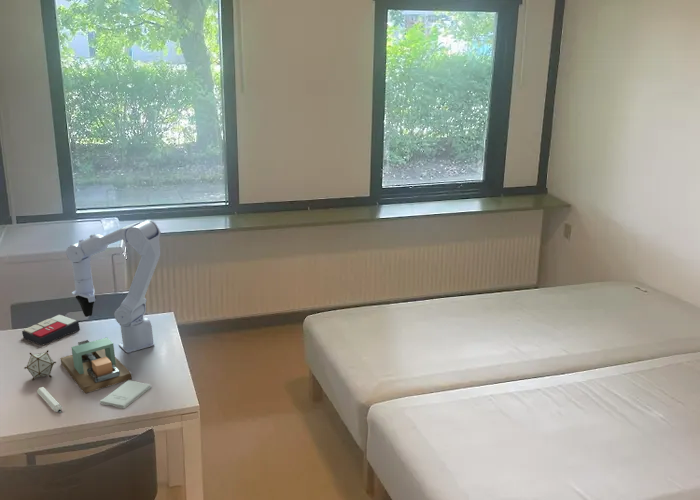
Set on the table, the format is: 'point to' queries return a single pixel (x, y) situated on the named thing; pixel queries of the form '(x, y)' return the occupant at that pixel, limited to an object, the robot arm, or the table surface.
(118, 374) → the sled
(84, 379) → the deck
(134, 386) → the external hard drive
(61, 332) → the sliding block puzzle
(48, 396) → the marker
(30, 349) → the table surface
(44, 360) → the game die
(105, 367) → the block
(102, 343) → the tunnel
